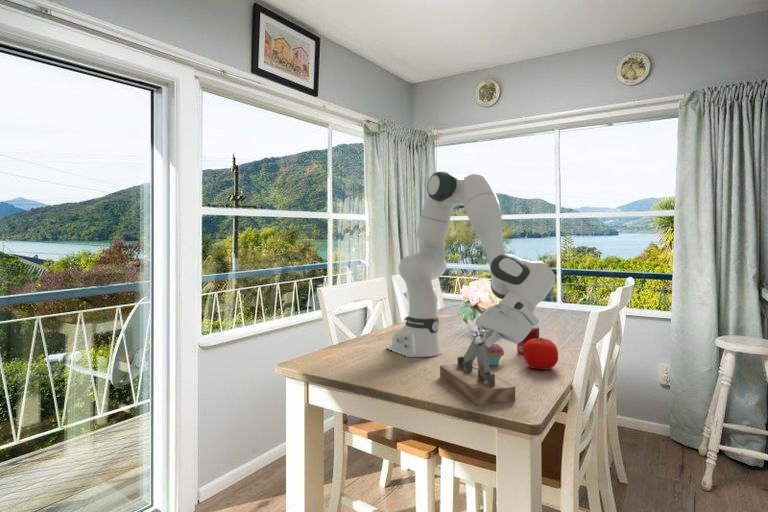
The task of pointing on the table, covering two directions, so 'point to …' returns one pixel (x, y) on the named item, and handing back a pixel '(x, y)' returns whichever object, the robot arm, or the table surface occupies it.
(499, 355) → the cupcake
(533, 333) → the canned food
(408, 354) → the robot arm
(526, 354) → the tomato
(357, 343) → the table surface
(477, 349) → the cream knob lever
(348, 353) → the table surface
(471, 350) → the grey knob lever
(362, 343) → the table surface
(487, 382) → the switch box
